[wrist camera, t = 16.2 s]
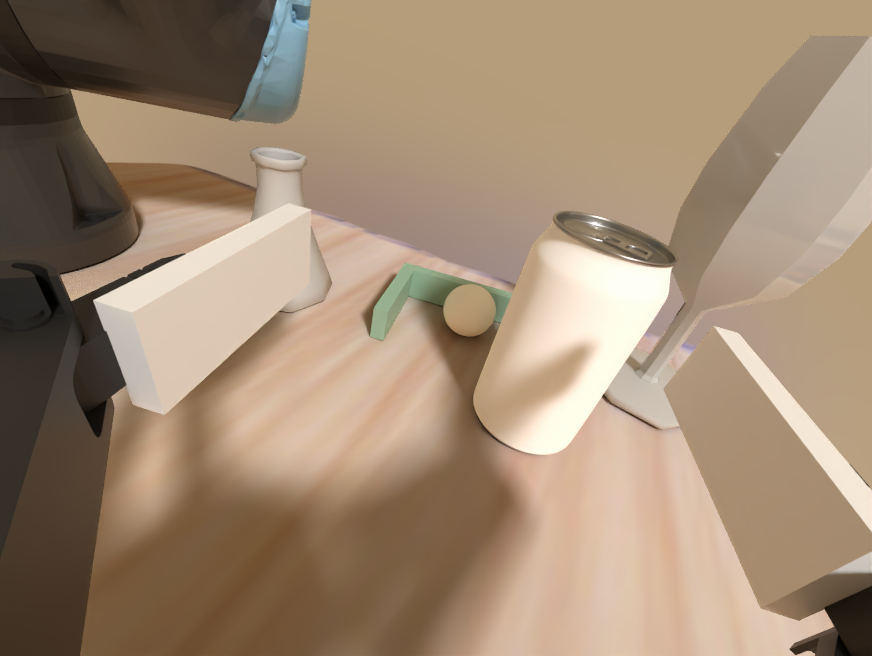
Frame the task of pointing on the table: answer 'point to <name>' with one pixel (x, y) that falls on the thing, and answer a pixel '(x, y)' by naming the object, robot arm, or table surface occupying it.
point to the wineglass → (767, 204)
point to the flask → (277, 189)
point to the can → (569, 329)
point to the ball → (469, 310)
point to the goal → (423, 295)
